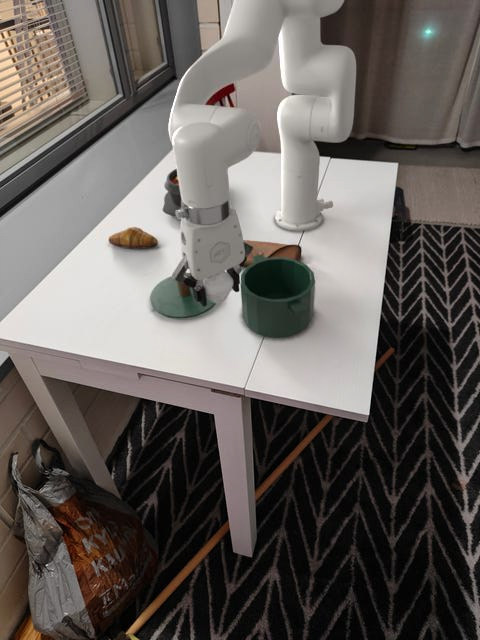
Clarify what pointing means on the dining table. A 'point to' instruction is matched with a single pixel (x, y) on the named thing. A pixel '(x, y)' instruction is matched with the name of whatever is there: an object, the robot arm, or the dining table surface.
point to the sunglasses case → (272, 251)
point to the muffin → (218, 287)
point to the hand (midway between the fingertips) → (217, 294)
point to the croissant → (133, 239)
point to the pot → (277, 296)
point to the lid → (177, 300)
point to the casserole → (172, 194)
